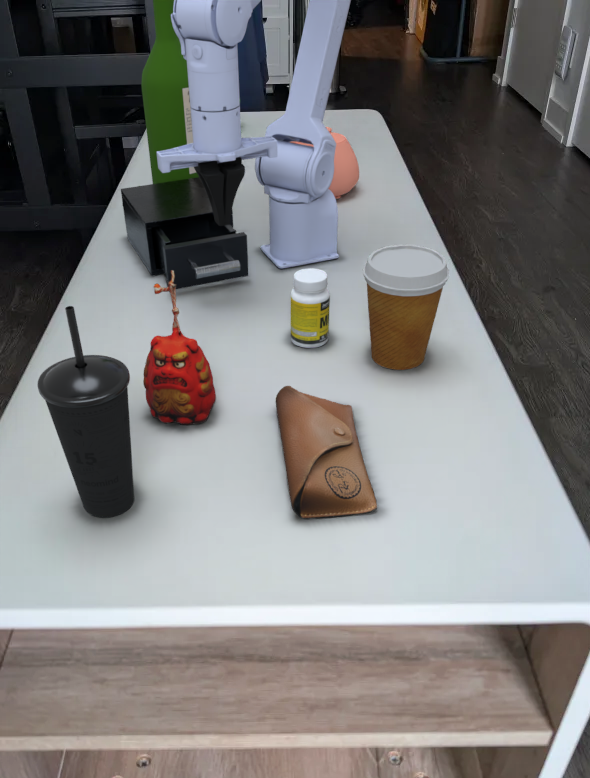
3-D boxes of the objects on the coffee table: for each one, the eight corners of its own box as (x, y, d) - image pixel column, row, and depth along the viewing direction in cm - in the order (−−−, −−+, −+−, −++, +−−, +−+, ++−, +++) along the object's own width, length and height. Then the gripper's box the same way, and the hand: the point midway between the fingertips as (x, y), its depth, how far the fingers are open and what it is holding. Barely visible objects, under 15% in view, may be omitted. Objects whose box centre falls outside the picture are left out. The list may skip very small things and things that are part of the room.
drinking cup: (72, 479, 79) (27, 289, 65) (149, 473, 79) (121, 284, 66) (63, 530, 73) (12, 334, 60) (147, 525, 73) (115, 328, 60)
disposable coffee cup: (444, 343, 97) (457, 248, 89) (429, 383, 91) (442, 284, 83) (368, 332, 100) (374, 238, 92) (348, 370, 93) (353, 272, 85)
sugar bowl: (355, 205, 132) (358, 140, 126) (272, 202, 134) (271, 138, 127) (361, 180, 141) (364, 118, 135) (283, 177, 143) (282, 116, 136)
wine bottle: (197, 223, 128) (177, -18, 106) (147, 217, 130) (117, -20, 109) (218, 203, 134) (203, -28, 113) (169, 198, 136) (146, -30, 115)
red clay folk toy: (141, 426, 85) (121, 296, 75) (157, 391, 90) (140, 264, 81) (211, 431, 84) (200, 299, 74) (223, 395, 89) (214, 268, 80)
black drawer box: (235, 260, 117) (232, 208, 112) (151, 275, 113) (145, 223, 108) (204, 225, 127) (201, 176, 122) (127, 238, 124) (120, 188, 119)
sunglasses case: (384, 509, 73) (350, 462, 69) (318, 542, 75) (282, 499, 71) (351, 402, 87) (321, 358, 83) (296, 433, 89) (264, 391, 85)
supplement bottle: (325, 350, 97) (327, 285, 91) (287, 347, 97) (286, 282, 92) (331, 331, 100) (333, 267, 95) (294, 328, 101) (294, 265, 95)
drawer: (260, 289, 107) (259, 248, 104) (179, 305, 104) (175, 263, 101) (217, 240, 120) (215, 201, 116) (144, 253, 117) (139, 213, 113)
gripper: (163, 122, 87) (175, 243, 96) (286, 106, 91) (287, 224, 100) (147, 106, 92) (160, 222, 101) (264, 92, 96) (267, 205, 105)
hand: (222, 222), depth 101 cm, fingers closed
